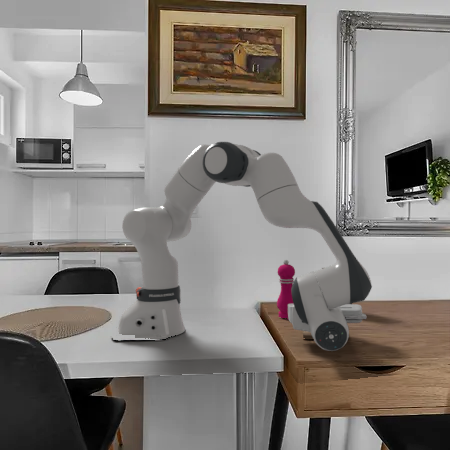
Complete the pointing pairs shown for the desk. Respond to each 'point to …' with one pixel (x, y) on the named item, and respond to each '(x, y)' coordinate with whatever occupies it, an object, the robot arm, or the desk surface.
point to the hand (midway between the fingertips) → (322, 306)
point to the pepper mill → (285, 288)
